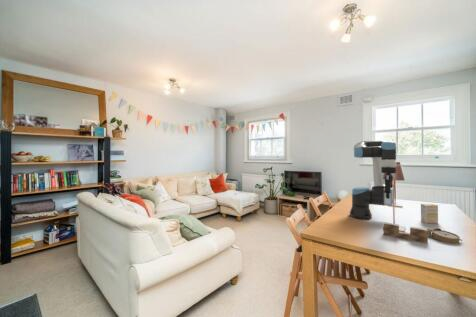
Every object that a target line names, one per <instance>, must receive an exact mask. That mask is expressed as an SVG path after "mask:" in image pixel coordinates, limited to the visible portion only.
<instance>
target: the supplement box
mask: <svg viewBox="0 0 476 317" xmlns="http://www.w3.org/2000/svg"><path fill="white" fill-rule="evenodd" d="M420 222H422V223H424V224H439V205H438V204H435V203H420Z"/></svg>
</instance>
